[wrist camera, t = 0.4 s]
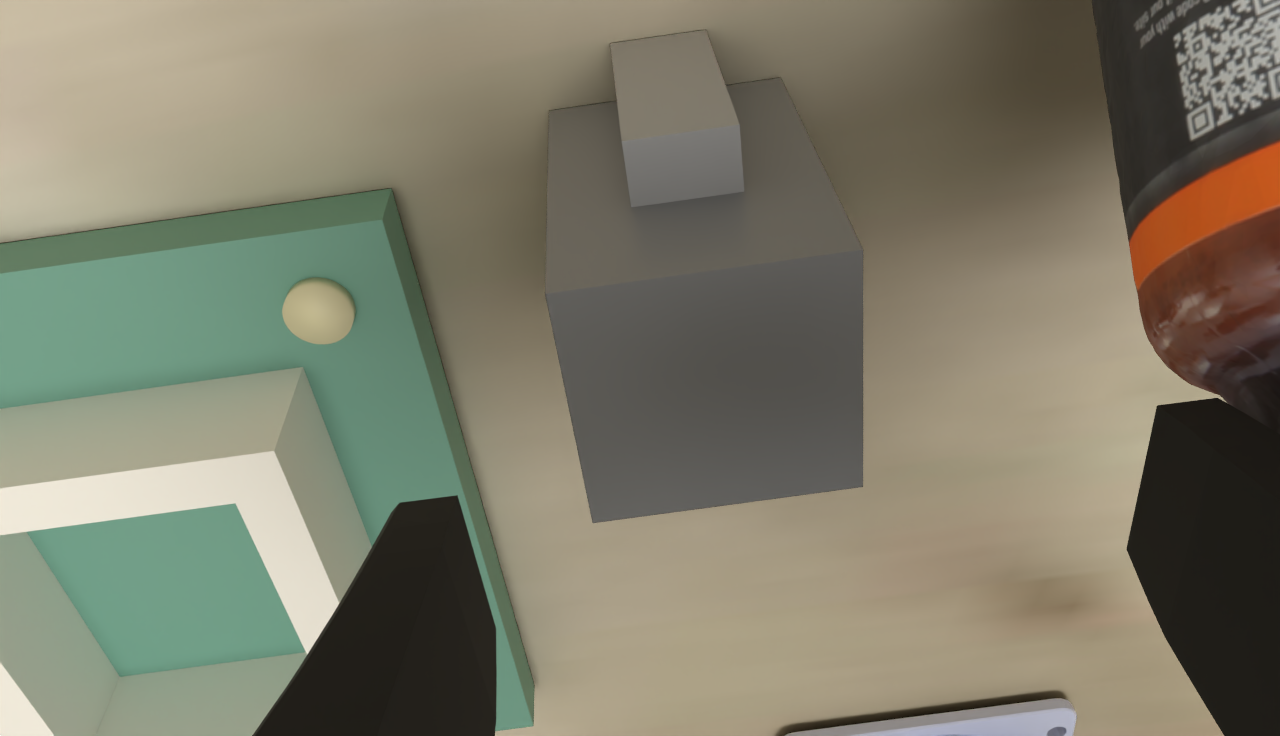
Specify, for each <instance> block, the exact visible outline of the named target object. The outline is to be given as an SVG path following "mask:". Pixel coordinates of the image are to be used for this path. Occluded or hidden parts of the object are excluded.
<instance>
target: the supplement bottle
mask: <svg viewBox="0 0 1280 736" xmlns="http://www.w3.org/2000/svg"><path fill="white" fill-rule="evenodd" d="M1092 5H1093V13H1094V19H1095V24H1096V29H1097V39H1098V45H1099V52H1100V59H1101V66H1102V73H1103V80H1104V87H1105V92H1106V96H1107V104H1108V111H1109V118H1110V123H1111V129H1112V137H1113V146H1114V154H1115V160H1116V166H1117V172H1118V176H1119V183H1120V195H1121V201H1122V206H1123V212H1124V217H1125V222H1126V228H1127V234H1128V240H1129V246H1130V253H1131V260H1132V268H1133V275H1134V281H1135V285H1136V289H1137V293H1138V299H1139V307H1140V313H1141V317H1142V321H1143V325H1144V329H1145V332H1146V335H1147V337H1148V339H1149V341H1150V343H1151V345H1152V346H1153V348H1154V350H1155V352H1156V353H1157V354H1158V356H1159V357H1160V358H1161V360H1162V361H1163V362H1164V363H1165V365H1166V366H1167V367H1168V368H1170V369H1171V370H1172V371H1173V372H1175V373H1176V374H1177V375H1178V376H1180V377H1181V378H1182V379H1183V380H1185V381H1186V382H1188V383H1190V384H1191V385H1194V386H1196V387H1199V388H1201V389H1204V390H1207V391H1209V392H1212V393H1215V394H1218V395H1220V396H1221V397H1223V399H1224V400H1225V401H1226V402H1227V403H1228V404H1229V405H1231V406H1233V407H1235V408H1236V409H1238V410H1240V411H1242V412H1243V413H1245V414H1247V415H1249V416H1250V417H1252V418H1254V419H1255V420H1257V421H1259V422H1260V423H1262V424H1264V425H1265V426H1267V427H1269V428H1270V429H1272V430H1274V431H1275V432H1277V433H1279V434H1280V0H1092Z"/></svg>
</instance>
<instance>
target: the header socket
mask: <svg viewBox="0 0 1280 736" xmlns="http://www.w3.org/2000/svg"><path fill="white" fill-rule="evenodd" d="M234 503H236V505H237V508H238V510H239V512H240V514H241V516H242V518H243V520H244V522H245V524H246V527H247V529H248V531H249V533H250V535H251V537H252V539H253V541H254V544H255V546H256V548H257V550H258V552H259V554H260V556H261V558H262V560H263V563H264V565H265V567H266V569H267V571H268V573H269V575H270V577H271V579H272V582H273V584H274V586H275V588H276V590H277V592H278V594H279V596H280V598H281V601H282V603H283V605H284V607H285V609H286V611H287V613H288V615H289V618H290V620H291V622H292V624H293V626H294V628H295V630H296V632H297V634H298V637H299V639H300V641H301V643H302V645H303V647H304V649H305V651H306V652H304V653H297V654H289V655H281V656H274V657H266V658H259V659H251V660H244V661H236V662H229V663H221V664H214V665H206V666H199V667H191V668H183V669H176V670H168V671H161V672H153V673H146V674H138V675H131V676H123V677H120V676H119V675H118V673H117V672H116V670H115V669H114V667H113V666H112V664H111V663H110V661H109V659H108V658H107V656H106V655H105V653H104V652H103V650H102V649H101V647H100V645H99V644H98V642H97V641H96V639H95V638H94V636H93V635H92V633H91V631H90V630H89V628H88V627H87V625H86V624H85V622H84V621H83V619H82V618H81V616H80V614H79V613H78V611H77V610H76V608H75V607H74V605H73V604H72V602H71V600H70V599H69V597H68V596H67V594H66V593H65V591H64V590H63V588H62V586H61V585H60V583H59V582H58V580H57V579H56V577H55V576H54V574H53V573H52V571H51V569H50V568H49V566H48V565H47V563H46V562H45V560H44V559H43V557H42V555H41V554H40V552H39V551H38V549H37V548H36V546H35V545H34V543H33V541H32V540H31V538H30V537H29V535H28V534H27V532H28V531H35V530H43V529H50V528H57V527H65V526H72V525H79V524H87V523H94V522H102V521H109V520H116V519H124V518H131V517H138V516H146V515H153V514H160V513H168V512H175V511H182V510H190V509H197V508H205V507H212V506H219V505H227V504H234ZM371 548H372V546H371V543H370V541H369V538H368V536H367V533H366V530H365V528H364V525H363V522H362V520H361V517H360V515H359V512H358V509H357V507H356V504H355V502H354V499H353V496H352V494H351V491H350V489H349V486H348V483H347V481H346V478H345V475H344V473H343V470H342V468H341V465H340V462H339V460H338V457H337V455H336V452H335V449H334V447H333V444H332V442H331V439H330V436H329V434H328V431H327V428H326V426H325V423H324V421H323V418H322V415H321V413H320V410H319V408H318V405H317V402H316V400H315V397H314V395H313V392H312V389H311V387H310V384H309V381H308V379H307V376H306V374H305V371H304V368H303V367H299V368H292V369H284V370H277V371H270V372H263V373H256V374H248V375H241V376H234V377H227V378H219V379H212V380H205V381H198V382H191V383H183V384H176V385H169V386H162V387H154V388H147V389H140V390H133V391H126V392H118V393H111V394H104V395H97V396H89V397H82V398H75V399H68V400H61V401H53V402H46V403H39V404H32V405H24V406H17V407H10V408H3V409H0V735H1V736H252V735H253V734H254V732H255V731H256V729H257V728H258V727H259V725H260V724H261V722H262V721H263V719H264V718H265V717H266V715H267V714H268V712H269V711H270V710H271V708H272V707H273V705H274V704H275V702H276V701H277V700H278V698H279V697H280V695H281V694H282V692H283V691H284V690H285V688H286V687H287V685H288V684H289V682H290V681H291V679H292V678H293V676H294V675H295V673H296V672H297V670H298V669H299V667H300V665H301V664H302V662H303V661H304V659H305V657H306V656H307V654H308V653H309V651H310V650H311V648H312V646H313V645H314V643H315V642H316V640H317V638H318V637H319V635H320V634H321V632H322V630H323V629H324V627H325V626H326V624H327V623H328V621H329V619H330V618H331V616H332V615H333V613H334V611H335V610H336V608H337V606H338V605H339V603H340V601H341V600H342V598H343V596H344V595H345V593H346V591H347V589H348V588H349V586H350V584H351V583H352V581H353V579H354V578H355V576H356V574H357V572H358V571H359V569H360V567H361V566H362V564H363V562H364V560H365V558H366V557H367V555H368V553H369V551H370V550H371Z"/></svg>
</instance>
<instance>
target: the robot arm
mask: <svg viewBox="0 0 1280 736" xmlns="http://www.w3.org/2000/svg"><path fill="white" fill-rule="evenodd" d="M1127 551H1128V554H1129V556H1130V559H1131V561H1132V563H1133V566H1134V568H1135V570H1136V573H1137V575H1138V578H1139V580H1140V582H1141V585H1142V587H1143V589H1144V592H1145V594H1146V597H1147V599H1148V601H1149V603H1150V605H1151V608H1152V610H1153V612H1154V614H1155V616H1156V618H1157V621H1158V623H1159V625H1160V627H1161V629H1162V632H1163V634H1164V636H1165V638H1166V640H1167V641H1168V643H1169V645H1170V646H1171V648H1172V650H1173V651H1174V653H1175V655H1176V657H1177V658H1178V660H1179V662H1180V663H1181V665H1182V667H1183V668H1184V670H1185V672H1186V673H1187V675H1188V677H1189V678H1190V680H1191V682H1192V683H1193V685H1194V687H1195V688H1196V690H1197V692H1198V693H1199V695H1200V697H1201V698H1202V700H1203V702H1204V703H1205V705H1206V707H1207V708H1208V710H1209V711H1210V713H1211V715H1212V716H1213V718H1214V720H1215V721H1216V723H1217V724H1218V726H1219V728H1220V729H1221V731H1222V733H1223V734H1224V736H1280V434H1279V433H1277V432H1275V431H1274V430H1272V429H1270V428H1269V427H1267V426H1265V425H1264V424H1262V423H1260V422H1259V421H1257V420H1255V419H1254V418H1252V417H1250V416H1249V415H1247V414H1245V413H1243V412H1242V411H1240V410H1238V409H1236V408H1235V407H1233V406H1231V405H1229V404H1227V403H1226V402H1224V401H1222V400H1220V399H1218V398H1213V399H1205V400H1197V401H1189V402H1182V403H1174V404H1166V405H1158V406H1157V409H1156V413H1155V418H1154V423H1153V427H1152V432H1151V437H1150V442H1149V446H1148V451H1147V456H1146V460H1145V465H1144V470H1143V474H1142V479H1141V484H1140V489H1139V493H1138V498H1137V503H1136V507H1135V512H1134V517H1133V521H1132V526H1131V531H1130V535H1129V540H1128V545H1127ZM496 696H497V665H496V626H495V623H494V619H493V616H492V612H491V609H490V605H489V602H488V599H487V595H486V592H485V588H484V585H483V581H482V578H481V574H480V571H479V568H478V564H477V561H476V557H475V554H474V550H473V547H472V543H471V540H470V536H469V533H468V530H467V526H466V523H465V519H464V516H463V512H462V509H461V505H460V502H459V499H458V495H455V496H448V497H440V498H432V499H424V500H416V501H409V502H401V503H399V504H398V505H397V506H396V507H395V508H394V510H393V511H392V512H391V514H390V515H389V517H388V519H387V521H386V523H385V525H384V526H383V528H382V530H381V532H380V534H379V535H378V537H377V539H376V541H375V542H374V544H373V546H372V548H371V550H370V551H369V553H368V555H367V557H366V558H365V560H364V562H363V564H362V566H361V567H360V569H359V571H358V572H357V574H356V576H355V578H354V579H353V581H352V583H351V584H350V586H349V588H348V589H347V591H346V593H345V595H344V596H343V598H342V600H341V601H340V603H339V605H338V606H337V608H336V610H335V611H334V613H333V615H332V616H331V618H330V619H329V621H328V623H327V624H326V626H325V627H324V629H323V630H322V632H321V634H320V635H319V637H318V638H317V640H316V642H315V643H314V645H313V646H312V648H311V650H310V651H309V653H308V654H307V656H306V657H305V659H304V661H303V662H302V664H301V665H300V667H299V669H298V670H297V672H296V673H295V675H294V676H293V678H292V679H291V681H290V682H289V684H288V685H287V687H286V688H285V690H284V691H283V692H282V694H281V695H280V697H279V698H278V700H277V701H276V702H275V704H274V705H273V707H272V708H271V710H270V711H269V712H268V714H267V715H266V717H265V718H264V719H263V721H262V722H261V724H260V725H259V727H258V728H257V729H256V731H255V732H254V734H253V735H252V736H495V728H496ZM1076 719H1077V716H1076V712H1075V710H1074V708H1073V705H1072V703H1070V702H1069V701H1068V700H1065V699H1062V698H1053V699H1046V700H1038V701H1030V702H1023V703H1015V704H1007V705H999V706H992V707H984V708H976V709H969V710H961V711H953V712H946V713H938V714H930V715H922V716H915V717H907V718H899V719H892V720H884V721H876V722H868V723H861V724H853V725H845V726H838V727H830V728H822V729H815V730H807V731H799V732H793V733H789V734H787V735H785V736H1073V734H1074V729H1075V724H1076Z"/></svg>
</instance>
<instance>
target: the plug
mask: <svg viewBox="0 0 1280 736" xmlns="http://www.w3.org/2000/svg"><path fill="white" fill-rule="evenodd" d="M610 47H611V55H612V64H613V72H614V80H615V89H616V97H617V101H614V102H607V103H600V104H593V105H586V106H579V107H572V108H565V109H558V110H551V111H549V131H548V179H547V227H546V275H545V296H546V301H547V305H548V310H549V315H550V320H551V325H552V329H553V334H554V339H555V344H556V349H557V354H558V358H559V363H560V368H561V373H562V378H563V382H564V387H565V392H566V397H567V402H568V407H569V411H570V416H571V421H572V426H573V431H574V435H575V440H576V445H577V450H578V455H579V460H580V464H581V469H582V474H583V479H584V484H585V488H586V493H587V498H588V503H589V508H590V513H591V517H592V522H593V523H597V522H605V521H612V520H620V519H627V518H635V517H642V516H650V515H657V514H664V513H672V512H679V511H687V510H694V509H702V508H709V507H717V506H724V505H732V504H739V503H746V502H754V501H761V500H769V499H776V498H784V497H791V496H799V495H806V494H813V493H821V492H828V491H836V490H843V489H851V488H858V487H863V248H862V246H861V244H860V242H859V240H858V238H857V236H856V234H855V232H854V229H853V227H852V225H851V223H850V221H849V219H848V217H847V215H846V213H845V211H844V209H843V206H842V204H841V202H840V200H839V198H838V196H837V194H836V192H835V190H834V188H833V186H832V184H831V181H830V179H829V177H828V175H827V173H826V171H825V169H824V167H823V165H822V163H821V161H820V158H819V156H818V154H817V152H816V150H815V148H814V146H813V144H812V142H811V140H810V138H809V136H808V133H807V131H806V129H805V127H804V125H803V123H802V121H801V119H800V117H799V115H798V113H797V110H796V108H795V106H794V104H793V102H792V100H791V98H790V96H789V94H788V92H787V90H786V87H785V85H784V83H783V81H782V79H781V78H775V79H768V80H761V81H754V82H747V83H740V84H733V85H725V82H724V79H723V76H722V74H721V71H720V68H719V65H718V62H717V59H716V57H715V54H714V51H713V48H712V45H711V43H710V40H709V37H708V34H707V31H706V30H700V31H693V32H686V33H679V34H672V35H665V36H658V37H651V38H644V39H637V40H631V41H624V42H617V43H610Z"/></svg>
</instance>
